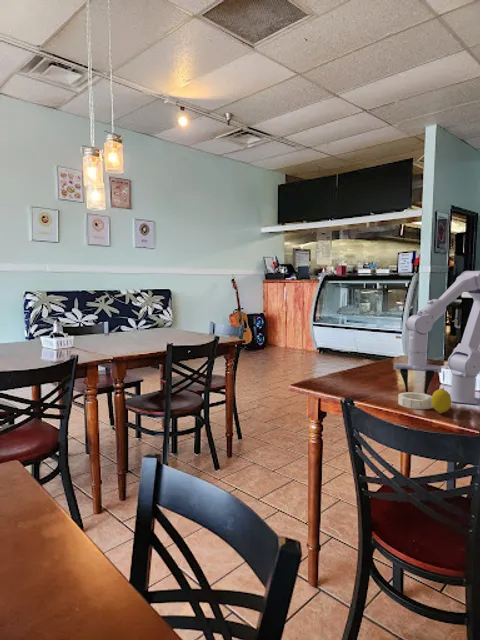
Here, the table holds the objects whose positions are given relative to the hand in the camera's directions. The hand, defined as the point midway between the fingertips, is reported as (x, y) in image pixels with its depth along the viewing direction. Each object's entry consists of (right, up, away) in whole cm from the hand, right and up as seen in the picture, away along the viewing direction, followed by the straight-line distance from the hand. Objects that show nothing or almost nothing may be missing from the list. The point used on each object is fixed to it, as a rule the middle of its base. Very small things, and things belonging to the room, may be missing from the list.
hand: (416, 392), depth 146 cm
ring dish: (0, -4, 0) cm, 4 cm away
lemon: (+4, -5, -10) cm, 12 cm away
